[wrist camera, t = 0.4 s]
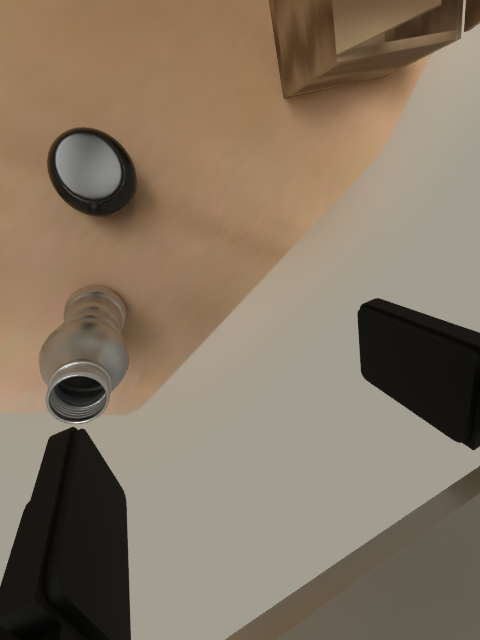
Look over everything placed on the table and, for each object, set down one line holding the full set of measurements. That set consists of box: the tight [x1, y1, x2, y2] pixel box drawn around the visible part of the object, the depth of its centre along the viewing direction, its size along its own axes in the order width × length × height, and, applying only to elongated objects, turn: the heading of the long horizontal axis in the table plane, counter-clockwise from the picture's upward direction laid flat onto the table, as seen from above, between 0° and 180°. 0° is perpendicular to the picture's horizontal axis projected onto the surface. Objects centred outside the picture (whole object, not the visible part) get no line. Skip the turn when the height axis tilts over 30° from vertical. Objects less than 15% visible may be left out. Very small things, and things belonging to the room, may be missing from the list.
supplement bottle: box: [47, 127, 137, 217], centre depth 27 cm, size 7×7×12 cm
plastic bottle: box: [39, 286, 129, 424], centre depth 27 cm, size 6×7×20 cm
